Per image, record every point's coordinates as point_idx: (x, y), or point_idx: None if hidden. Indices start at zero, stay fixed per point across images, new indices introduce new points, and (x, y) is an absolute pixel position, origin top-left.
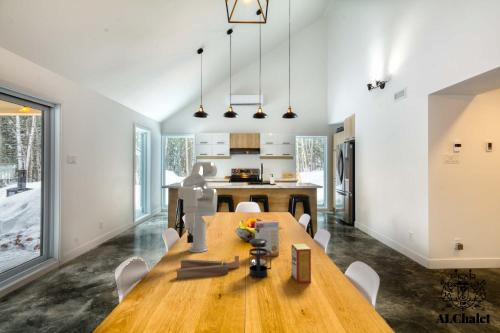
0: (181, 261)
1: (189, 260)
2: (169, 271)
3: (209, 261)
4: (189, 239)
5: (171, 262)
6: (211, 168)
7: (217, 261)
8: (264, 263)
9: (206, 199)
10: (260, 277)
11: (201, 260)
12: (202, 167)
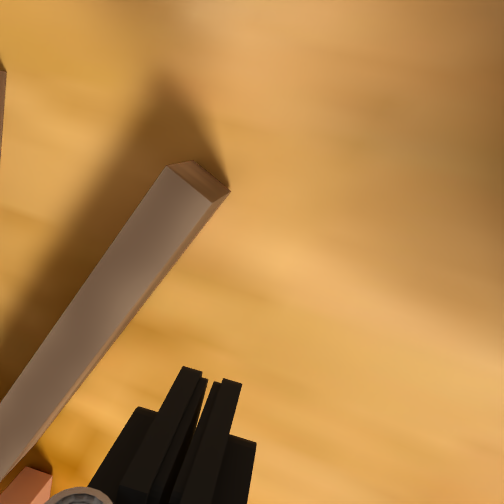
0: (162, 171)
1: (133, 258)
2: (177, 32)
3: (26, 410)
4: (118, 446)
5: (446, 113)
6: None
7: (3, 463)
8: None
9: None
10: None
11: (83, 362)
12: None
